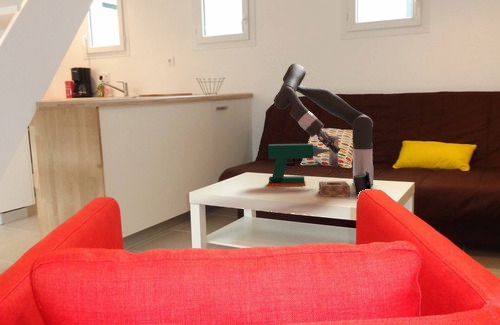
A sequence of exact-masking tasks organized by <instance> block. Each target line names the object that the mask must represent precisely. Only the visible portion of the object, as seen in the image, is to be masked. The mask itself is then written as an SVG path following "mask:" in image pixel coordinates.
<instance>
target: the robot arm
mask: <svg viewBox="0 0 500 325" xmlns="http://www.w3.org/2000/svg"><path fill="white" fill-rule="evenodd" d="M306 75H307V72H306V68H305V67H303V66H302V65H300V64H298V63H292V64H290V65H289V66H288V68H287V69H286V72H285V74H284V75H283V77H282V81H283V83H282V85H281V87H280V89H279V91H278V92H277V93H276V95H275V96H274V98H273V103H274V106H275V107H276V109H279V110H286V109H287V108H288V107H289V106H290V105H291V104H292V107H291V110H290V111H289V115H290V116H291V117H292V119H293V120H294V121H296V122H297V123H298V125H299V126H300V127H301V128H302V129H303V130H304V131H305V132H306V133H307V134H308V135H309V136H310V137H311V138H313V137H315V136H317V140H318V141H319V142H321V143H322V144H323V145H324V146H325V147H326V149H327V148H328V149H329V148H330V149H331V150H332V151H333V152H334V153H335V154H337V153H338V154H339V152H340V151H341V148H340V147H339V146H338V148H337V147H336V146H335V145H333V143H332V142H331V141H330V140H331V139H330V138H329V136H330V135H329V133H328V132H327V131H323V130H322V129H323V128H324V127H325V124H324V123H322V121H321V120H320V119H318V117H317V116H315V115H314V113H312V112H311V111H310V110H309V109H308V108H307V107H306V106H304V104H303V103H302V101H301V99H300V98H299V96H298V95H297V92H298V93H299V94H301V95H303V96H304V97H306V98H308V99H309V100H310V101H312V102H313V103H314V104H316V105H317V106H318V107H320V108H322V110H324V111H326V112H328V113H329V114H331V115H333V116H335V117H337V118H339V119H341V120H343V121H345V122H346V123H347V124H349V125H350V126H351V127H352V129H351V131H352V134H351V135H352V137H351V138H352V184H354V178H353V177H354V176H356V175H361V174H366V171H367V172H369V177H370V184H371V185H374V164H373V143H374V142H373V128H374V121H373V119H372V118H371V117H370V116H368V115H366V114H364V113H362V112H360V111H359V110H356V109H355V108H353V107H352V106H350V104H348V103H347V102H346V101H345V100H344V99H342V97H340V96H338V95H337V94H336V93H334V92H333V91H331V89H328V88H322V87H321V88H319V87H318V88H317V87H313V88H312V87H308V86H306V85H305V86H304V85H303V84H302V82H303V81H304V79H305V77H306ZM354 185H355V184H354Z"/></svg>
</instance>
